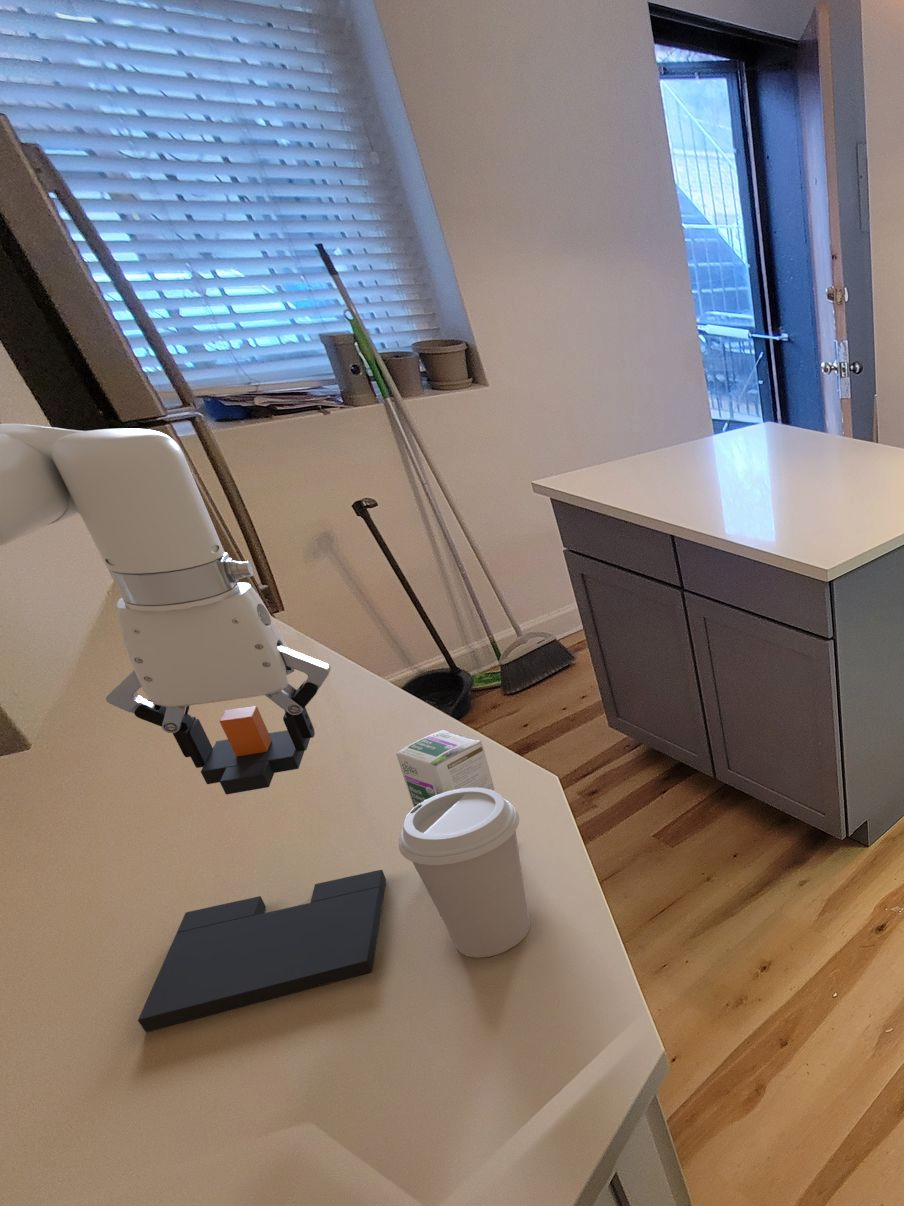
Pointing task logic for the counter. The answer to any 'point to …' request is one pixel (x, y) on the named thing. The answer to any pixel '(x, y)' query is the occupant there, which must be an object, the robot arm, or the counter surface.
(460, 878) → the coffee cup
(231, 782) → the pad
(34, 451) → the robot arm
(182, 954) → the notch pad
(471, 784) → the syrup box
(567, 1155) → the counter surface
